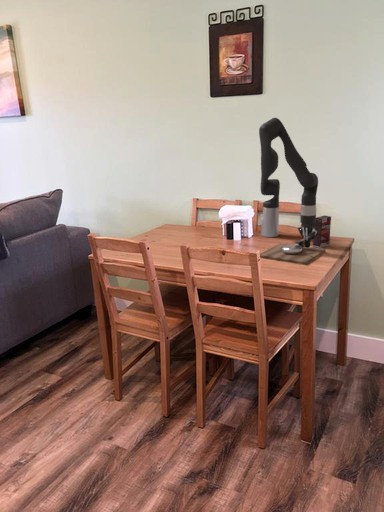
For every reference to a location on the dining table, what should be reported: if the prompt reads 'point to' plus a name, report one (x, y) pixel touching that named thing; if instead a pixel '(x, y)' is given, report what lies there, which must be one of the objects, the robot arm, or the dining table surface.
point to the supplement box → (322, 231)
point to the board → (300, 258)
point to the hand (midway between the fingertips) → (307, 247)
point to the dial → (294, 247)
